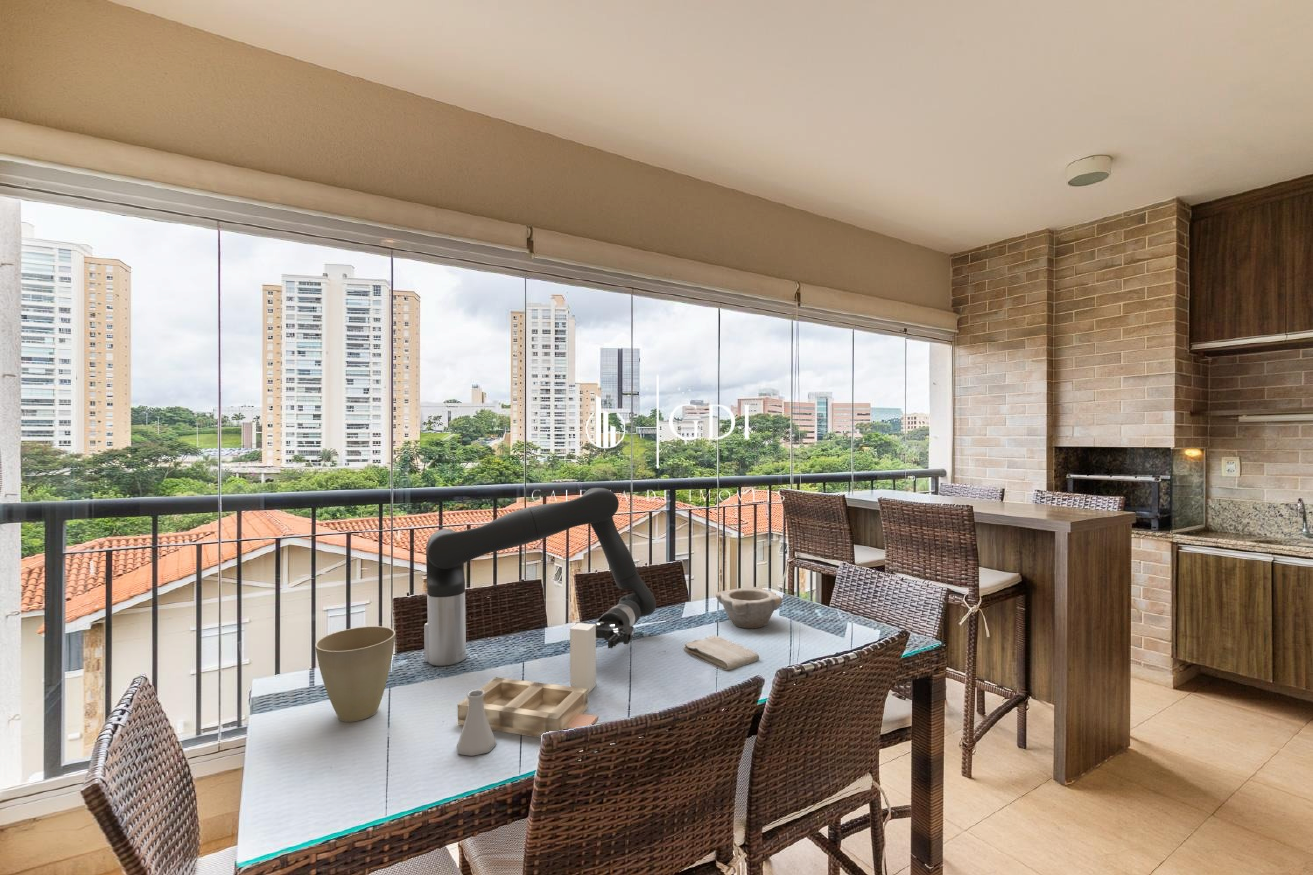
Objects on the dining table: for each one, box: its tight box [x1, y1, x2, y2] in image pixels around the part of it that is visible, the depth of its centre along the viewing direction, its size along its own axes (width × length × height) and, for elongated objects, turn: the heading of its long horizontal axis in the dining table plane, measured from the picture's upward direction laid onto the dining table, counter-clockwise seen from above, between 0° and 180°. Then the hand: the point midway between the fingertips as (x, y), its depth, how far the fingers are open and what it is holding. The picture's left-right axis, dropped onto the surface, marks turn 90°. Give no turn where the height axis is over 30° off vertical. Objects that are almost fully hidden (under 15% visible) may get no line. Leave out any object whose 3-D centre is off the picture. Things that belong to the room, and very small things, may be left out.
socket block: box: [457, 676, 599, 739], centre depth 123 cm, size 26×14×4 cm, turn 73°
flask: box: [456, 689, 497, 756], centre depth 112 cm, size 7×7×10 cm
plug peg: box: [569, 622, 597, 694], centre depth 137 cm, size 4×4×14 cm
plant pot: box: [314, 625, 396, 723], centre depth 125 cm, size 15×15×16 cm
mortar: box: [715, 586, 783, 629], centre depth 182 cm, size 17×17×9 cm
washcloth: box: [683, 635, 760, 671], centre depth 156 cm, size 12×18×3 cm, turn 37°
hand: (592, 642), depth 142 cm, fingers open, 8 cm apart
